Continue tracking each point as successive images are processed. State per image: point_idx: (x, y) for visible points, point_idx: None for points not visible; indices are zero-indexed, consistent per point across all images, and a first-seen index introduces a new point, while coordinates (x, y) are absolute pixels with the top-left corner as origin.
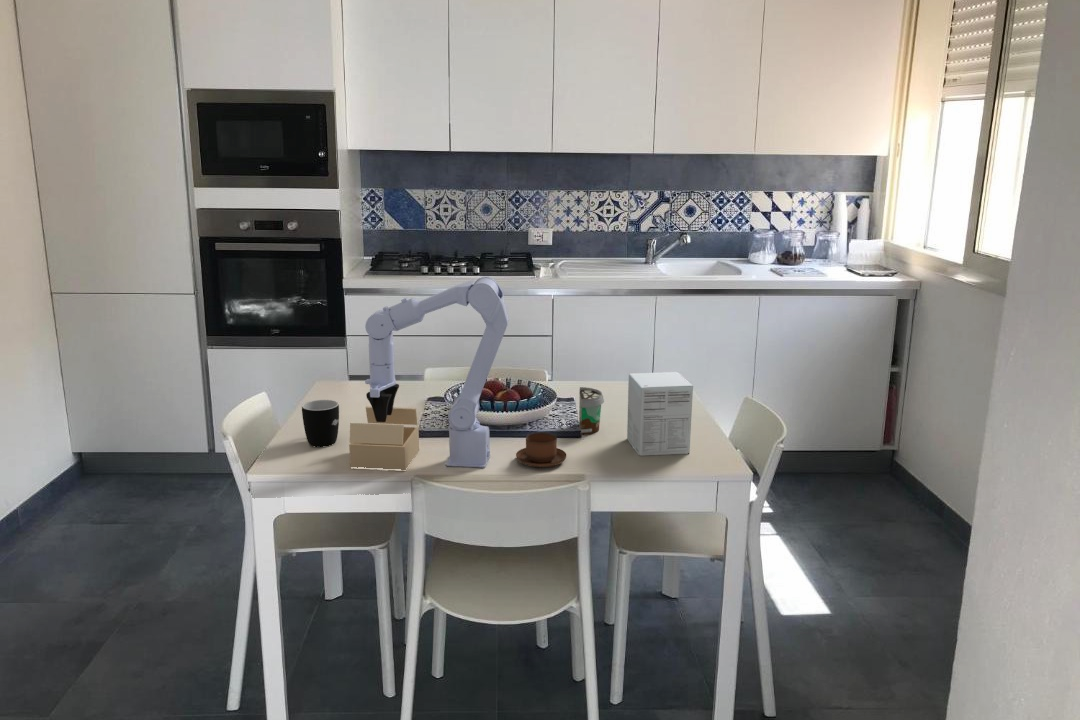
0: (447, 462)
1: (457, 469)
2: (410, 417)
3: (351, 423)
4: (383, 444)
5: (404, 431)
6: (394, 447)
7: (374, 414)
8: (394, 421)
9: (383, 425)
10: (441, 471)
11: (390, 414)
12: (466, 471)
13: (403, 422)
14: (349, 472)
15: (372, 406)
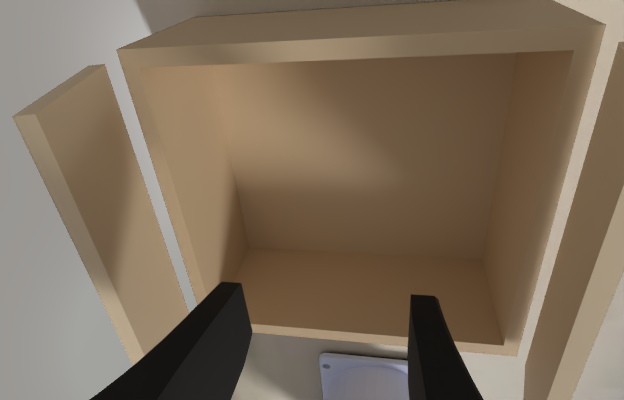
0: (336, 361)
1: (305, 375)
2: (531, 384)
3: (21, 128)
4: (512, 117)
5: (509, 279)
6: (195, 289)
7: (180, 323)
8: (556, 270)
9: (126, 344)
10: (278, 342)
11: (408, 349)
12: (295, 392)
13: (542, 314)
14: (156, 28)
15: (98, 398)
